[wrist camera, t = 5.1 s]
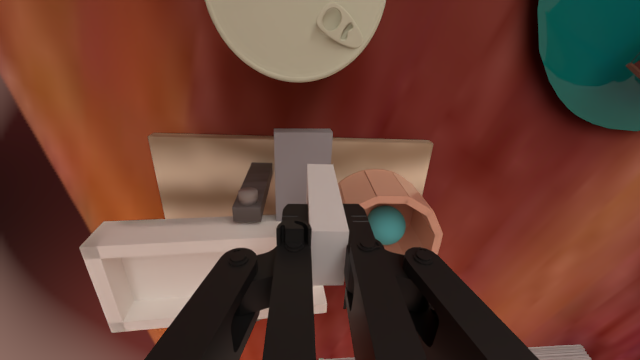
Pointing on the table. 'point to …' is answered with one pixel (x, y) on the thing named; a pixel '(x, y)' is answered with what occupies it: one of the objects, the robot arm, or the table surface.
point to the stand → (259, 170)
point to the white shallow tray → (192, 245)
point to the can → (296, 34)
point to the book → (544, 353)
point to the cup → (400, 194)
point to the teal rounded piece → (594, 58)
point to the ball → (387, 224)
